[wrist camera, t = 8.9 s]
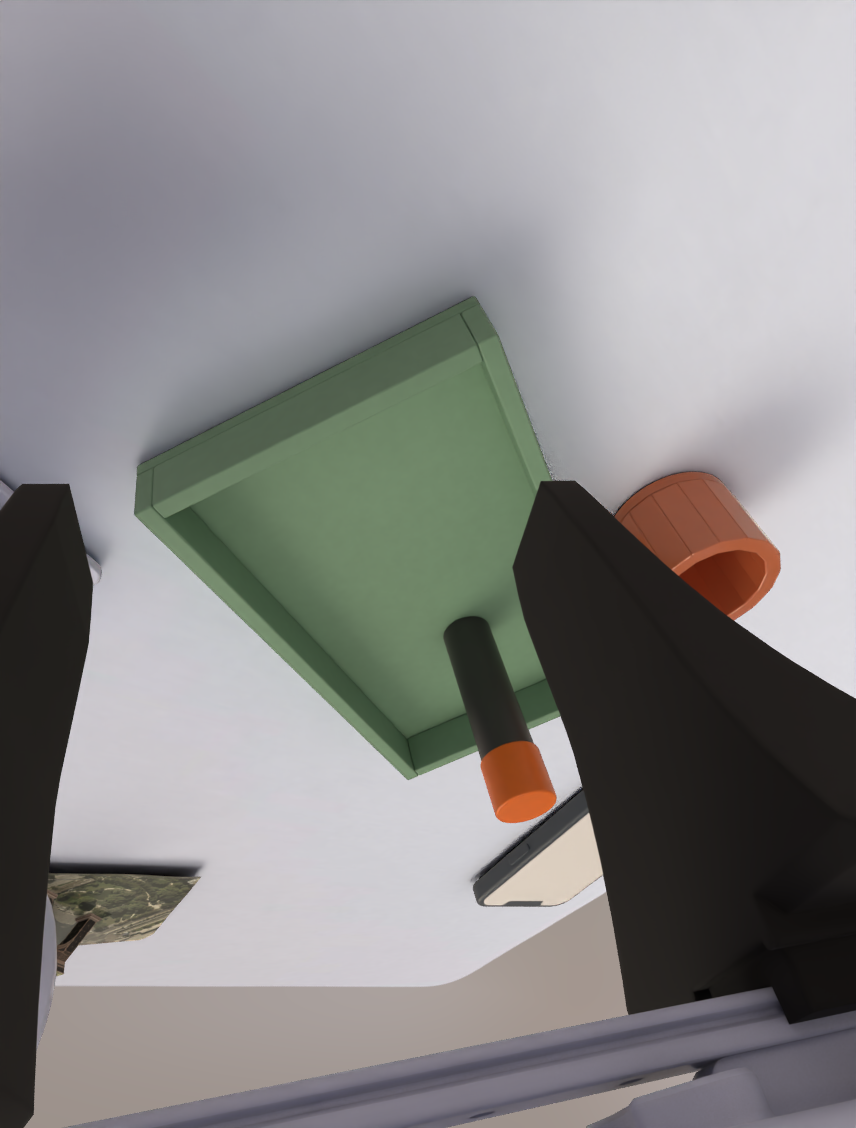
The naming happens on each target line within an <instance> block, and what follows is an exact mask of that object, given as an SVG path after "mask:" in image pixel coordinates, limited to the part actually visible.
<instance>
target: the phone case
mask: <svg viewBox="0 0 856 1128" xmlns="http://www.w3.org/2000/svg"><path fill="white" fill-rule="evenodd" d="M602 875H603V872H602V867H601V862H600V857H599V853H598V848H597V844H596V840H595V836H594V831H593V827H592V823H591V819H590V814H589V810H588V806H587V802H586V798H585V794H584V791H583V790H582V791H581V792H580V793H578V794H577V795H576V796H575V797H574V798H573V799H572V800H570V801H569V802H568V803H567V804H566V805H565V806H563V807H562V808H561V809H560V810H559V811H558V812H556V813H555V814H554V815H553V816H552V817H551V818H549V819H548V820H547V821H546V822H545V823H544V824H543V825H541V826H540V827H539V828H538V829H537V830H536V831H534V832H533V833H532V834H531V835H530V836H529V837H527V838H526V839H525V840H524V841H523V842H522V843H520V844H519V845H518V846H517V847H516V848H515V849H513V850H512V851H511V852H510V853H509V854H508V855H507V856H505V857H504V858H503V859H502V860H501V861H500V862H498V863H497V864H496V865H495V866H494V867H493V868H491V869H490V870H489V871H488V872H487V873H486V874H484V875H483V876H482V877H481V878H480V879H479V880H477V881H476V883H475V884H474V886H473V891H474V894H475V898H476V901H477V903H478V904H479V905H481V906H523V907H550V906H557V905H560V904H563V903H565V902H567V901H569V900H570V899H572V898H573V897H574V896H576V895H577V894H578V893H580V892H581V891H582V890H584V889H585V888H586V887H588V886H589V885H590V884H592V883H593V882H594V881H596V880H597V879H598V878H600V877H601V876H602Z"/></svg>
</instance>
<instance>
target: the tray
mask: <svg viewBox="0 0 856 1128" xmlns="http://www.w3.org/2000/svg"><path fill="white" fill-rule="evenodd" d="M541 481H552V479H551V476H550V473H549V471H548V468H547V465H546V463H545V460H544V457H543V454H542V452H541V449H540V446H539V444H538V441H537V438H536V436H535V433H534V430H533V428H532V425H531V422H530V419H529V417H528V414H527V411H526V409H525V406H524V403H523V401H522V398H521V395H520V393H519V390H518V387H517V384H516V382H515V379H514V376H513V374H512V371H511V368H510V366H509V363H508V360H507V358H506V355H505V352H504V349H503V347H502V344H501V341H500V339H499V336H498V334H497V332H496V331H495V329H494V327H493V326H492V324H491V322H490V321H489V319H488V317H487V316H486V314H485V312H484V311H483V309H482V307H481V306H480V304H479V302H478V300H477V299H476V297H475V296H473V297H471V298H469V299H467V300H465V301H463V302H461V303H459V304H457V305H455V306H453V307H451V308H449V309H447V310H445V311H443V312H441V313H439V314H437V315H435V316H433V317H431V318H429V319H427V320H425V321H423V322H421V323H419V324H417V325H415V326H413V327H412V328H410V329H408V330H406V331H404V332H402V333H400V334H398V335H396V336H394V337H392V338H390V339H388V340H386V341H384V342H382V343H380V344H378V345H376V346H374V347H372V348H370V349H368V350H366V351H364V352H362V353H360V354H358V355H356V356H354V357H352V358H350V359H348V360H346V361H344V362H342V363H340V364H338V365H336V366H334V367H332V368H330V369H328V370H326V371H324V372H322V373H321V374H319V375H317V376H315V377H313V378H311V379H309V380H307V381H305V382H303V383H301V384H299V385H297V386H295V387H293V388H291V389H289V390H287V391H285V392H283V393H281V394H279V395H277V396H275V397H273V398H271V399H269V400H267V401H265V402H263V403H261V404H259V405H257V406H255V407H253V408H251V409H249V410H247V411H245V412H243V413H241V414H239V415H237V416H235V417H233V418H231V419H229V420H228V421H226V422H224V423H222V424H220V425H218V426H216V427H214V428H212V429H210V430H208V431H206V432H204V433H202V434H200V435H198V436H196V437H194V438H192V439H190V440H188V441H186V442H184V443H182V444H180V445H178V446H176V447H174V448H172V449H170V450H168V451H166V452H164V453H162V454H160V455H158V456H156V457H154V458H152V459H150V460H148V461H146V462H144V463H142V464H140V465H139V466H138V467H137V481H136V495H135V509H134V514H135V516H136V517H137V518H138V519H139V520H140V521H141V522H142V523H143V524H144V525H145V526H146V527H147V528H148V529H149V530H150V531H151V532H152V533H153V534H154V535H155V536H156V537H158V538H159V539H160V540H161V541H162V542H163V543H164V544H165V545H166V546H167V547H168V548H169V549H170V550H171V551H172V552H173V553H174V554H175V555H176V556H177V557H178V558H179V559H180V560H181V561H182V562H183V563H184V564H185V565H186V566H187V567H188V568H190V569H191V570H192V571H193V572H194V573H195V574H196V575H197V576H198V577H199V578H200V579H201V580H202V581H203V582H204V583H205V584H206V585H207V586H208V587H209V588H210V589H211V590H212V591H213V592H214V593H215V594H216V595H217V596H218V597H219V598H220V599H221V600H223V601H224V602H225V603H226V604H227V605H228V606H229V607H230V608H231V609H232V610H233V611H234V612H235V613H236V614H237V615H238V616H239V617H240V618H241V619H242V620H243V621H244V622H245V623H246V624H247V625H248V626H249V627H250V628H251V629H252V630H253V631H255V632H256V633H257V634H258V635H259V636H260V637H261V638H262V639H263V640H264V641H265V642H266V643H267V644H268V645H269V646H270V647H271V648H272V649H273V650H274V651H275V652H276V653H277V654H278V655H279V656H280V657H281V658H282V659H283V660H284V661H285V662H287V663H288V664H289V665H290V666H291V667H292V668H293V669H294V670H295V671H296V672H297V673H298V674H299V675H300V676H301V677H302V678H303V679H304V680H305V681H306V682H307V683H308V684H309V685H310V686H311V687H312V688H313V689H314V690H315V691H316V692H317V693H319V694H320V695H321V696H322V697H323V698H324V699H325V700H326V701H327V702H328V703H329V704H330V705H331V706H332V707H333V708H334V709H335V710H336V711H337V712H338V713H339V714H340V715H341V716H342V717H343V718H344V719H345V720H346V721H347V722H348V723H349V724H350V725H352V726H353V727H354V728H355V729H356V730H357V731H358V732H359V733H360V734H361V735H362V736H363V737H364V738H365V739H366V740H367V741H368V742H369V743H370V744H371V745H372V746H373V747H374V748H375V749H376V750H377V751H378V752H379V753H380V754H381V755H382V756H384V757H385V758H386V759H387V760H388V761H389V762H390V763H391V764H392V765H393V766H394V767H395V768H396V769H397V770H398V771H399V772H400V773H401V774H402V775H403V776H404V777H405V778H406V779H407V780H410V779H412V778H415V777H417V776H418V774H419V775H422V774H424V773H426V772H429V771H431V770H434V769H436V768H438V767H441V766H443V765H445V764H448V763H450V762H453V761H455V760H457V759H460V758H462V757H464V756H467V755H469V754H472V753H474V752H476V751H478V748H477V745H476V742H475V738H474V735H473V732H472V729H471V726H470V722H469V719H468V716H467V713H466V710H465V706H464V703H463V700H462V697H461V694H460V690H459V687H458V684H457V681H456V678H455V675H454V671H453V668H452V665H451V662H450V659H449V655H448V652H447V649H446V646H445V643H444V639H443V635H444V632H445V630H446V628H447V627H448V626H449V625H450V624H452V623H453V622H455V621H456V620H458V619H461V618H464V617H469V616H477V617H481V618H483V619H485V620H486V621H487V622H488V623H489V626H490V628H491V631H492V634H493V636H494V639H495V642H496V644H497V647H498V650H499V652H500V655H501V658H502V660H503V663H504V666H505V668H506V671H507V674H508V676H509V679H510V682H511V684H512V687H513V690H514V692H515V695H516V698H517V700H518V703H519V706H520V708H521V711H522V714H523V716H524V719H525V722H526V724H527V727H528V730H529V729H531V728H533V727H536V726H538V725H541V724H543V723H545V722H548V721H550V720H552V719H555V718H557V717H560V713H559V711H558V708H557V705H556V703H555V700H554V698H553V695H552V692H551V690H550V687H549V685H548V682H547V679H546V677H545V674H544V672H543V669H542V666H541V664H540V661H539V659H538V656H537V653H536V651H535V648H534V645H533V642H532V640H531V637H530V634H529V632H528V629H527V626H526V623H525V621H524V617H523V613H522V609H521V605H520V601H519V597H518V592H517V587H516V583H515V578H514V573H513V568H512V566H513V563H514V560H515V557H516V554H517V551H518V548H519V545H520V542H521V539H522V536H523V533H524V530H525V527H526V524H527V521H528V518H529V515H530V512H531V509H532V506H533V503H534V500H535V497H536V494H537V491H538V488H539V485H540V482H541Z"/></svg>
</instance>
